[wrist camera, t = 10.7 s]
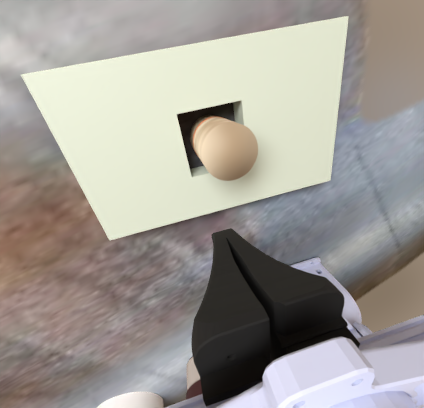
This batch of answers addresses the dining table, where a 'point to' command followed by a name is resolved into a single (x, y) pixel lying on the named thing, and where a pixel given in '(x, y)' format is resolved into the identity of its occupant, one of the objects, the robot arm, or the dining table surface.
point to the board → (189, 101)
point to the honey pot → (134, 401)
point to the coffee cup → (193, 380)
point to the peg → (224, 147)
